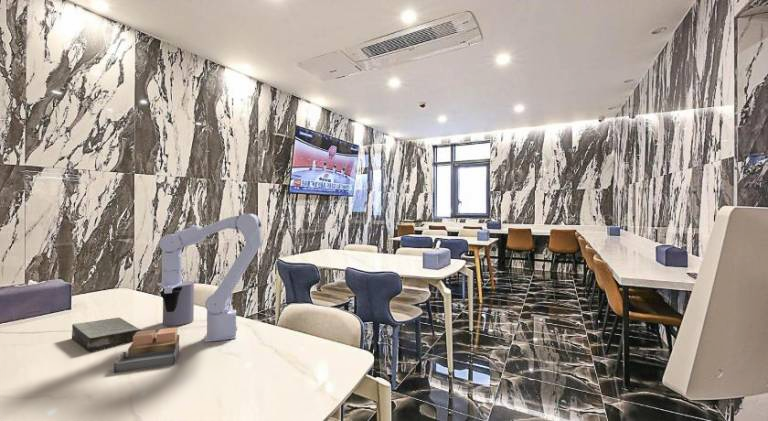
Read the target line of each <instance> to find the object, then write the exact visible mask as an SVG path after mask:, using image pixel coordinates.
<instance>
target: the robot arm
mask: <svg viewBox="0 0 768 421" xmlns="http://www.w3.org/2000/svg"><path fill="white" fill-rule="evenodd" d="M262 227H263V225H262V222H261V220H260V218H259V216H258V215H256V214H255V213H242V214H239V215H234V216H230V217H226V218H223V219H221V220H218V221H216V222H213V223H210V224H207V225H205V226H201V225H198V224H197V225H195V224H191V225H189V226H188V227H187V228H185V229H182V230H179V229H178V230H175V231H174V233H167V234H166V235H163V236H162V237H161V238H160V239H159V242H158V245H159V248H160V249H161V282H158V283H157V287H161V288H162V290H161V291H159V294H160V296H161V297H162V301H163V300H164V303H165V307H166V311H167V312H174V310H175V309H176V307H177V302H178V297H179V294H180V292H181V290H182V288H183V287H182V286H180V285H182V281H183V280H182V273H183V270H182V269H183V266H182V264H183V262H182V261H183V254H182V253H183V252H182V251H183V250H182V249H183V248H187V247H189V246H193V245H195V244H198V243H201V242H204V241H205V239H206V237H207V236H209V235H212V234H215V233H218V232H221V231H224V230H227V229H230V230H238V231H239V232H240V233H241V234H242V235H243V240H244V241H245V244H244V246H243V248H242V249H241V251H240V252H239V254H238V255H237V257H236V259H235V261H234V262H233V263H232V265H231V266H230V268H229V270H228V271H227V274H226V275H225V276H224V278H223V280H222V281H221V283H220V284H219V286H218V287H217V288H216V290H215V291H214V293H213V294H211V295H210V296H208V297H207V299H205V300H206V301H205V303H204V306H205V309H206V333H205V337H204V342H205V343H208V342H209V343H210V342H216V341H217V342H218V341H225V340H232V339H236V338H237V331H238V325H237V309H231V307H230V306H229V305H230V302H231V301H232V295H233V293H234V291H235V288H236V287H237V285H238V284H239V281H240V280H241V279H242V277H243V276H244V273H245V272H246V270H247V269H248V267H249V265H251V264H250V263H252V260H253V259H254V257H255V255H256V254H257V252H258V251H259V249H260V248H261V246H262V243H263V238H262V237H263V234H262V232H263V231H262V229H263V228H262ZM163 288H164V289H163Z"/></svg>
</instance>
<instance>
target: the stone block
mask: <svg viewBox="0 0 768 421" xmlns="http://www.w3.org/2000/svg"><path fill="white" fill-rule="evenodd" d="M71 326H72V330H71V339H72V340H73V341H74V342H75V343H77V344H78V345H80V346H81V347H82V349H84V350H85V351H86V352H88V353H92V352H97V351H101V350H105V349H109V348H112V346H113V347H116V345H117V346H120V344H121V345H124V344H128V343H133V336H134V335H135V334H136V332H138V331H141V329H140V328H138V327H137V326H135V325H133V324H132V323H129V322H128V321H126V320H124V319H123V318H121V317H114V318H106V319H99V320H98V319H97V320H93V321H85V322H78V323H73V324H72V325H71ZM108 347H109V348H108ZM104 348H105V349H104ZM100 349H101V350H100ZM96 350H97V351H96Z"/></svg>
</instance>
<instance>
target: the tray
mask: <svg viewBox="0 0 768 421" xmlns="http://www.w3.org/2000/svg"><path fill="white" fill-rule="evenodd" d="M126 353H127V351H123V352H122V353H121V354H120V355H119V357H118V358H116V360H115V362H114V363H113V373H114V374H116V373H122V372H130V371H131V372H132V371H139V370H143V369H150V368H152V369H153V368H159V367H165V366H174V365H176V362H177V360H178V357H179V355H180V344H179V345H177V347H176V349H175V350H167V351H159V352H151V353H143V354H135V355H128V354H127V355H126Z"/></svg>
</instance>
